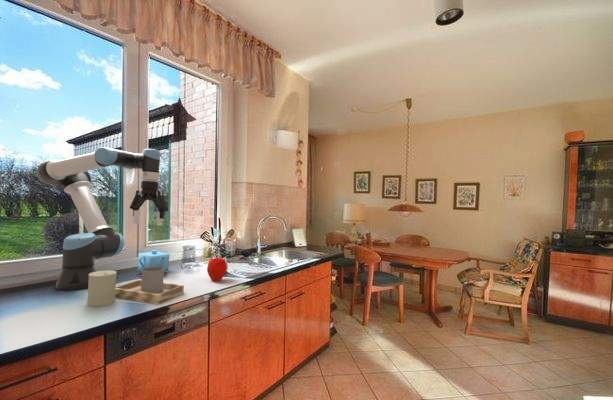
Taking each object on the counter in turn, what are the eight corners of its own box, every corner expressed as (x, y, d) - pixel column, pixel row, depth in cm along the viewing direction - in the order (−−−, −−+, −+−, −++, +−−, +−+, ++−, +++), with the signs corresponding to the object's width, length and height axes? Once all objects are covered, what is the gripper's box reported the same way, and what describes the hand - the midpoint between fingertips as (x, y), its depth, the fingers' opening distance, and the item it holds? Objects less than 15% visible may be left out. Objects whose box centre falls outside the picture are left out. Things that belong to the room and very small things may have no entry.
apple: (215, 284, 144) (216, 259, 144) (202, 280, 149) (203, 257, 149) (230, 280, 153) (231, 257, 153) (216, 277, 158) (217, 254, 158)
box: (110, 296, 120) (110, 288, 120) (139, 286, 134) (139, 279, 134) (158, 304, 114) (159, 295, 114) (183, 293, 129) (184, 285, 129)
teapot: (132, 274, 155) (133, 250, 155) (161, 269, 168) (162, 247, 168) (149, 280, 145) (151, 255, 145) (178, 275, 158) (179, 251, 158)
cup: (153, 296, 119) (154, 271, 119) (136, 293, 121) (137, 270, 121) (167, 290, 127) (168, 267, 127) (150, 288, 129) (152, 265, 129)
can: (93, 308, 107) (95, 276, 107) (82, 302, 112) (84, 272, 112) (120, 301, 115) (121, 271, 115) (108, 296, 120) (110, 268, 120)
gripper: (122, 179, 140) (120, 223, 140) (166, 181, 134) (164, 226, 134) (135, 181, 147) (133, 222, 147) (177, 182, 141) (175, 225, 141)
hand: (147, 224), depth 141 cm, fingers open, 13 cm apart
